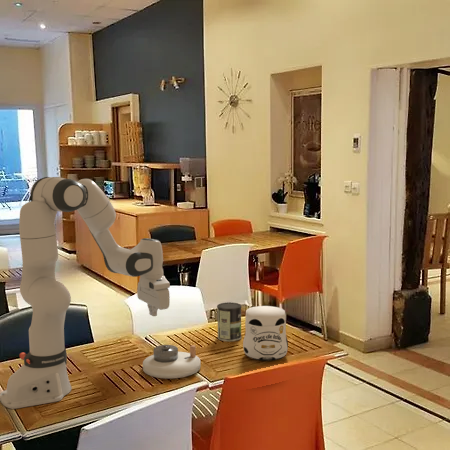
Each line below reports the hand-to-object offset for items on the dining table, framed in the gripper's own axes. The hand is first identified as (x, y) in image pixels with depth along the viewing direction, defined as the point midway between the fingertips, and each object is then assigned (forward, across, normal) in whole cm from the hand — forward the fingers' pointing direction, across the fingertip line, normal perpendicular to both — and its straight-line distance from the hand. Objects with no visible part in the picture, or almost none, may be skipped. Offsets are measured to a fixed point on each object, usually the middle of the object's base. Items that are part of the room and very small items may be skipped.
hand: (153, 315), depth 221 cm
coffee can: (+17, -2, +37) cm, 41 cm away
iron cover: (+14, +10, 0) cm, 17 cm away
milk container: (+17, +24, +36) cm, 46 cm away
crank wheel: (+17, +15, 0) cm, 22 cm away
